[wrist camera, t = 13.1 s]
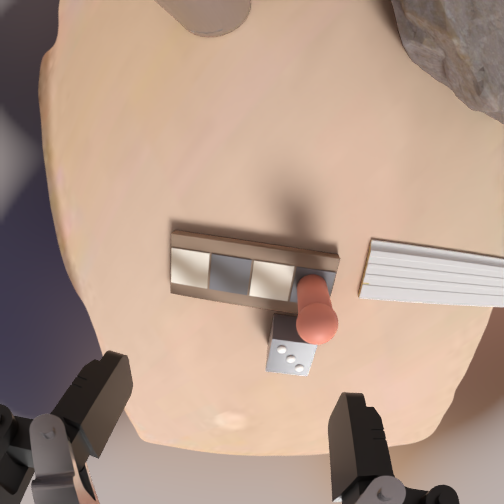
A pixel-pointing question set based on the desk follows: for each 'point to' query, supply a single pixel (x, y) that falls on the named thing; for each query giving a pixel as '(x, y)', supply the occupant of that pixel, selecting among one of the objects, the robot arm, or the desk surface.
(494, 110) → the stone
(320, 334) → the pawn
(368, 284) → the baseboard
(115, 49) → the desk surface
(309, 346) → the die
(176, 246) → the game strip
